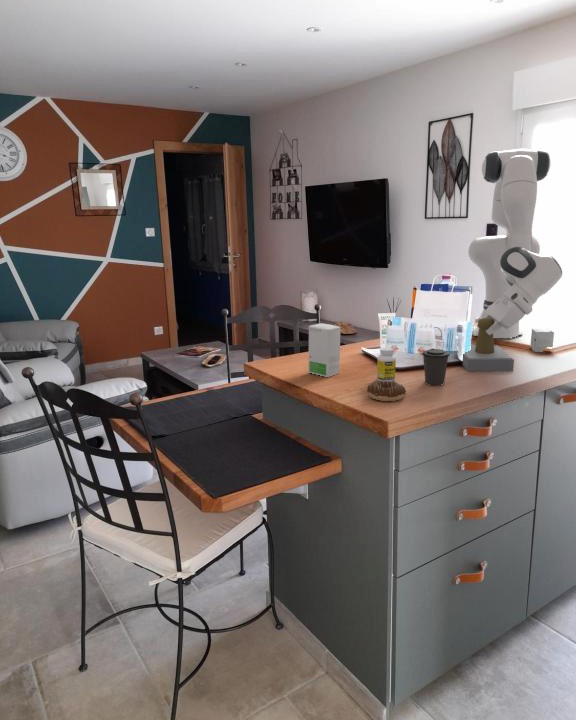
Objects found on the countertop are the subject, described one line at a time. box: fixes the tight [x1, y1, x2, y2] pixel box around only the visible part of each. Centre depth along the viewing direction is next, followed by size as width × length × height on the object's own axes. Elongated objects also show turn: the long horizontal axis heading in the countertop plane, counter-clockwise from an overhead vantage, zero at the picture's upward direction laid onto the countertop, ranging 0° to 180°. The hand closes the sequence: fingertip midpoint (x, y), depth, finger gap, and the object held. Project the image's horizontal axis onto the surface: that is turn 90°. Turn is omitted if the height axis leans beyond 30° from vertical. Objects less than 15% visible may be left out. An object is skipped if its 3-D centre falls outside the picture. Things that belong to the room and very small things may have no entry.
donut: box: [366, 380, 407, 402], centre depth 155 cm, size 11×11×4 cm
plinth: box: [462, 345, 515, 372], centre depth 185 cm, size 18×14×4 cm
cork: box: [475, 318, 495, 354], centre depth 183 cm, size 6×6×11 cm
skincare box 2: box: [530, 328, 555, 353], centre depth 199 cm, size 6×6×7 cm
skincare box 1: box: [307, 323, 341, 378], centre depth 177 cm, size 8×7×16 cm
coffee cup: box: [421, 348, 451, 386], centre depth 165 cm, size 8×8×10 cm
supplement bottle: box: [376, 346, 397, 382], centre depth 169 cm, size 5×5×10 cm
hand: (483, 330), depth 182 cm, fingers open, 8 cm apart
